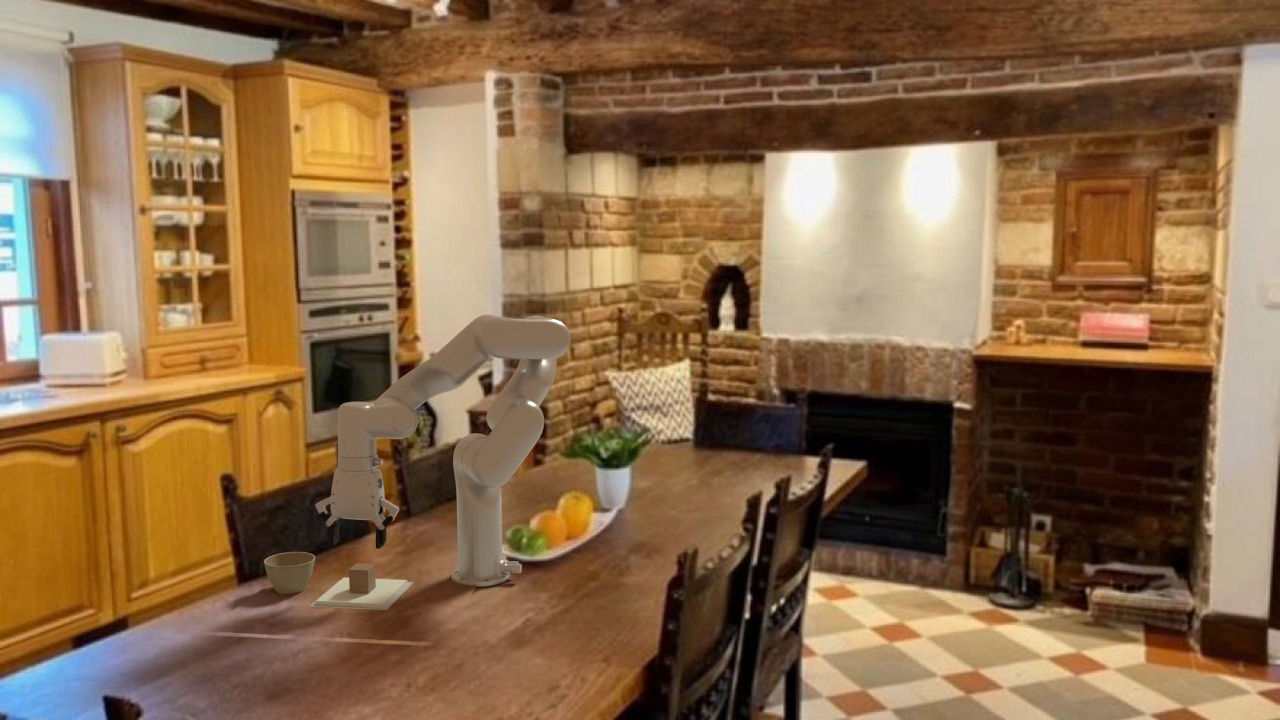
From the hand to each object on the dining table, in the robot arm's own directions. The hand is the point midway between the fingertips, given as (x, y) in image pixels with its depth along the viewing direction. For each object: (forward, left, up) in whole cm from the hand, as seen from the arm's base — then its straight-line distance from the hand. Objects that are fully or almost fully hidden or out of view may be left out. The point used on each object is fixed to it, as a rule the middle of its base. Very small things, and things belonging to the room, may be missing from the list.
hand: (357, 545), depth 207 cm
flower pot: (+15, -1, -11) cm, 19 cm away
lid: (-1, 0, -10) cm, 10 cm away
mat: (-1, 0, -11) cm, 11 cm away
